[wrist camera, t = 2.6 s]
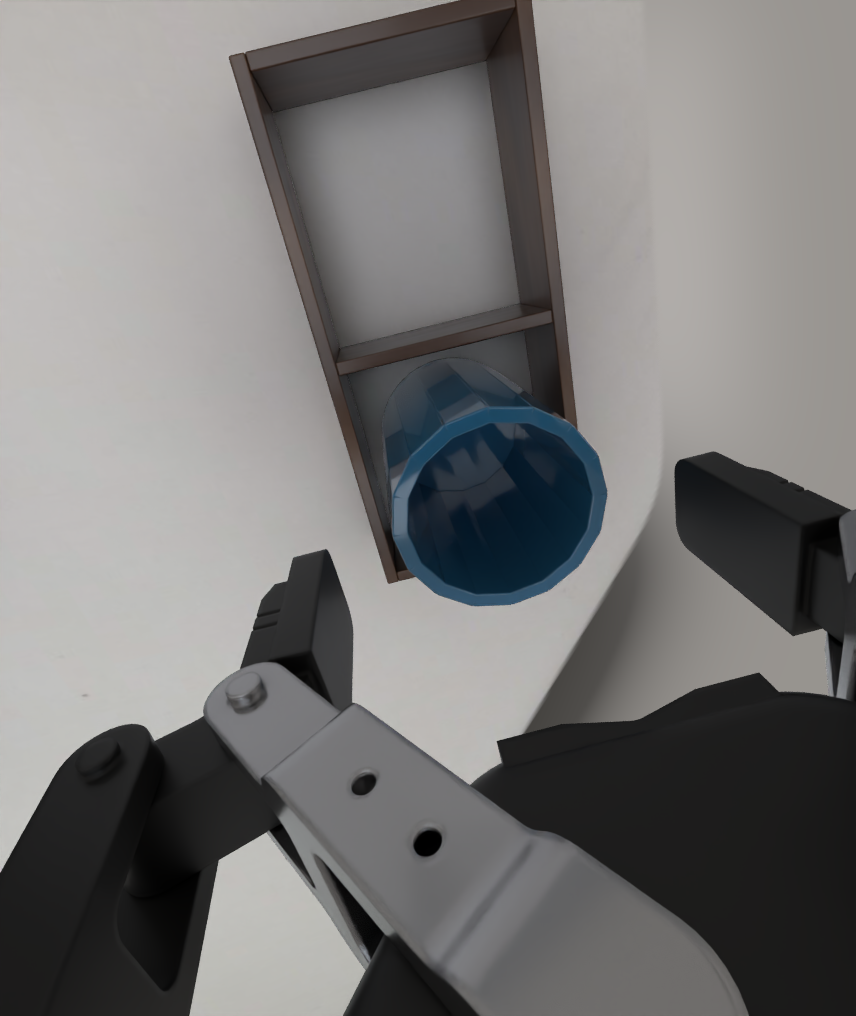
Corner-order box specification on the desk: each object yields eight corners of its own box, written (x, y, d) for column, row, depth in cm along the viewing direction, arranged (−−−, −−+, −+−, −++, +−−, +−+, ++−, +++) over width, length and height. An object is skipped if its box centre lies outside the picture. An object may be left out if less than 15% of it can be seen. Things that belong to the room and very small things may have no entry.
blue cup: (416, 332, 19) (449, 369, 12) (544, 392, 20) (646, 457, 13) (360, 466, 21) (359, 570, 13) (482, 512, 22) (541, 629, 15)
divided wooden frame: (255, 99, 16) (227, 55, 13) (496, 41, 16) (530, -18, 13) (384, 540, 22) (388, 584, 19) (556, 496, 22) (589, 533, 19)
